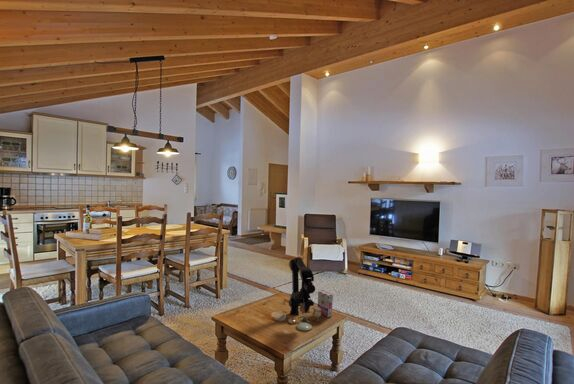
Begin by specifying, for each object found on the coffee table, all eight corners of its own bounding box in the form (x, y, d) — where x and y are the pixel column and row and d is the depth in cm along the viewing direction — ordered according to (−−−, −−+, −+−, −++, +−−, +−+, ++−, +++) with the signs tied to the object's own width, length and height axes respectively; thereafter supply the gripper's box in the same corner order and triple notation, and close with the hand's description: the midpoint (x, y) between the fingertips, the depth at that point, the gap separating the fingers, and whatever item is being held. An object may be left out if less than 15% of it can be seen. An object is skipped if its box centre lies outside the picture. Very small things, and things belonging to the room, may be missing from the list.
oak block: (313, 312, 215) (313, 307, 215) (318, 312, 216) (318, 306, 216) (315, 315, 211) (315, 309, 211) (320, 314, 212) (320, 309, 212)
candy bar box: (332, 316, 221) (333, 294, 220) (327, 318, 218) (328, 295, 217) (321, 310, 230) (322, 289, 229) (316, 312, 227) (317, 290, 226)
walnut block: (299, 310, 204) (300, 303, 204) (306, 309, 205) (307, 302, 205) (302, 313, 199) (302, 306, 199) (309, 313, 200) (309, 305, 200)
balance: (289, 324, 206) (289, 317, 205) (287, 320, 211) (287, 314, 211) (321, 321, 212) (322, 315, 211) (319, 318, 217) (319, 311, 217)
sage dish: (297, 323, 208) (297, 321, 208) (311, 324, 207) (311, 323, 207) (296, 330, 198) (296, 329, 198) (311, 331, 197) (311, 330, 197)
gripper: (290, 283, 208) (289, 305, 209) (298, 293, 190) (297, 318, 191) (305, 283, 211) (304, 304, 212) (314, 292, 193) (313, 316, 194)
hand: (304, 310), depth 202 cm, fingers closed on walnut block, 5 cm apart
